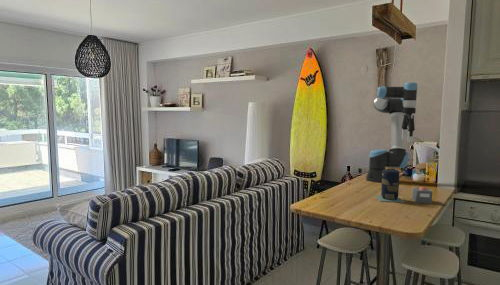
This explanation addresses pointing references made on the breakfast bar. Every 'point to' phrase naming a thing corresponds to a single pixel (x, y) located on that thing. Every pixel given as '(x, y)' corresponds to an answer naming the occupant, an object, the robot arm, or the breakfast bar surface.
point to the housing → (422, 195)
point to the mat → (389, 199)
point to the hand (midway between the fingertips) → (407, 140)
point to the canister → (390, 183)
